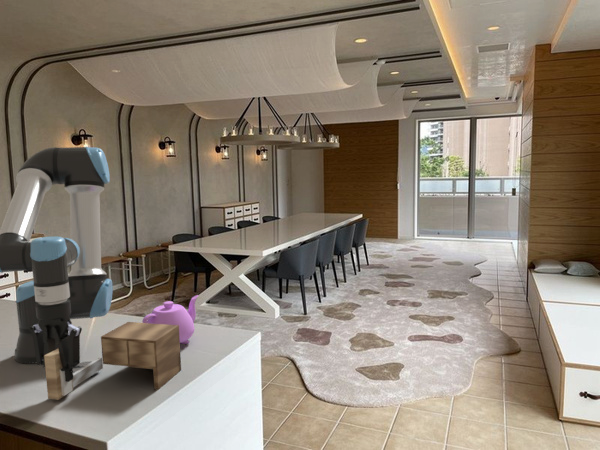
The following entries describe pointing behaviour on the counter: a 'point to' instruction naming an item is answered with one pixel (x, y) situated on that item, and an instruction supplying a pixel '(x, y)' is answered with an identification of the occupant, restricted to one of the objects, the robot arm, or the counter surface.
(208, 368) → the counter surface
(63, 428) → the counter surface
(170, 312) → the teapot
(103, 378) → the counter surface
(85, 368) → the wood and metal l-shape
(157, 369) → the small wooden cabinet
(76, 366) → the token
